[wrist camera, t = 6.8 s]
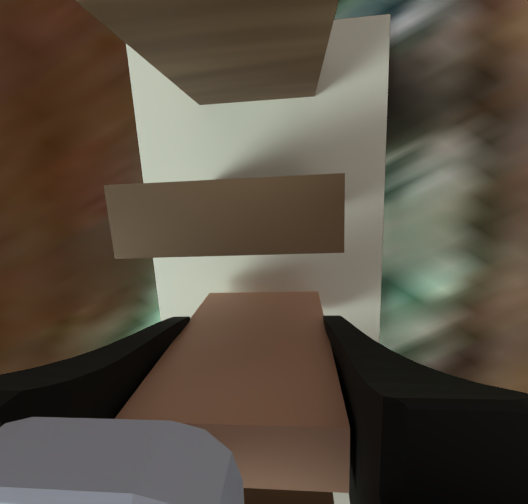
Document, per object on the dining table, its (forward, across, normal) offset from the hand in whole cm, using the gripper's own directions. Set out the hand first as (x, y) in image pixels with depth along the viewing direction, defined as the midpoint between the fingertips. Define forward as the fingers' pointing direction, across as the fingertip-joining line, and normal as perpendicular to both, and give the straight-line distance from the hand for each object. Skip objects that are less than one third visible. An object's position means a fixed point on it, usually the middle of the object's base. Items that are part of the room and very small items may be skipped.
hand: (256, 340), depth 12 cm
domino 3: (+3, 0, 0) cm, 3 cm away
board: (+4, 0, 0) cm, 4 cm away
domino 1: (+4, 0, -10) cm, 11 cm away
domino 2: (+4, 0, -5) cm, 6 cm away
